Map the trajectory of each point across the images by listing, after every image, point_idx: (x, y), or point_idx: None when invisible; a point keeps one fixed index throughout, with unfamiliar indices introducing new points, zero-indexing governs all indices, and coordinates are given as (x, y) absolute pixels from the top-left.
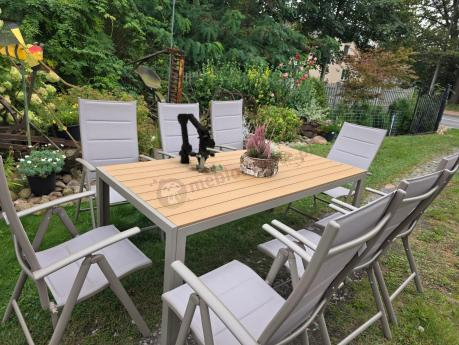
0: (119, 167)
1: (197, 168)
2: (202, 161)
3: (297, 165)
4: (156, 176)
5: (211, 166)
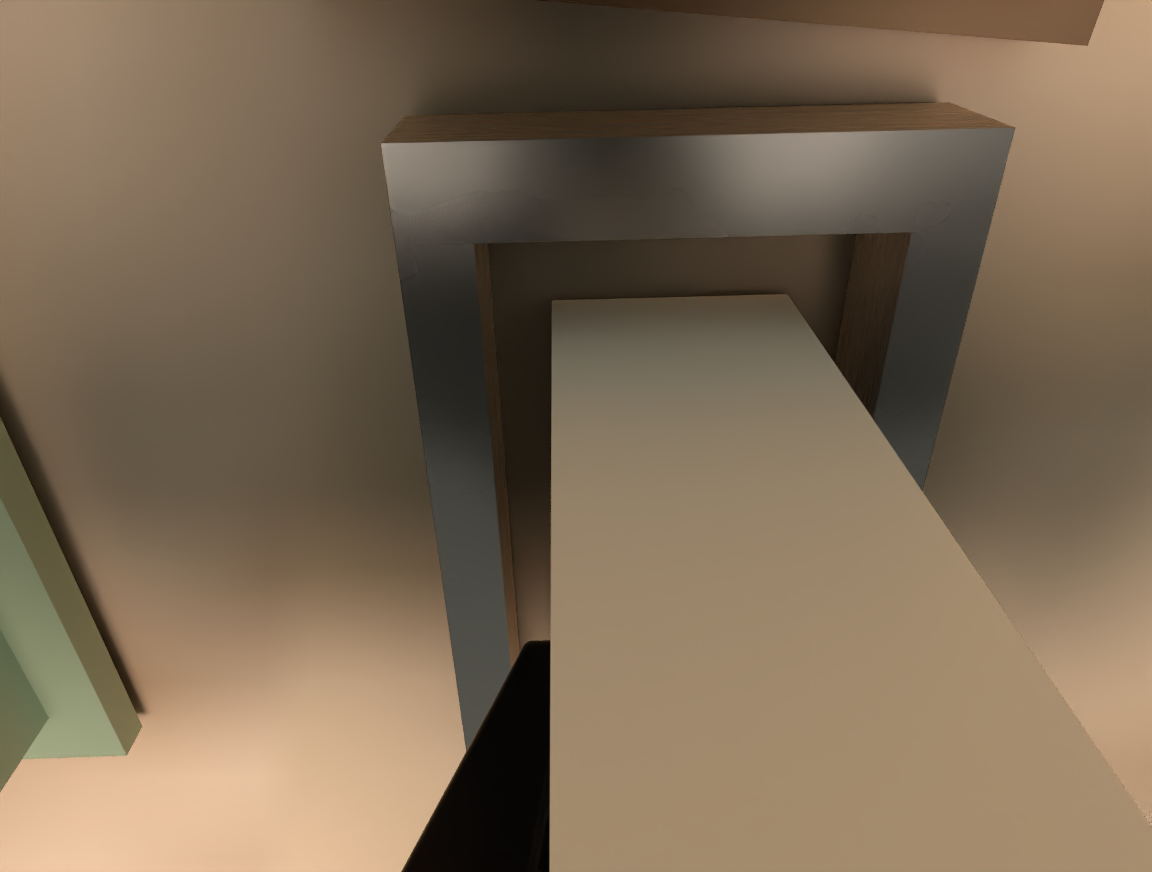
0: None
1: None
2: (870, 770)
3: None
4: None
5: (103, 724)
